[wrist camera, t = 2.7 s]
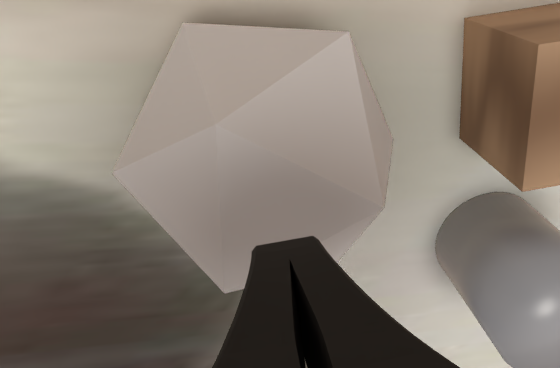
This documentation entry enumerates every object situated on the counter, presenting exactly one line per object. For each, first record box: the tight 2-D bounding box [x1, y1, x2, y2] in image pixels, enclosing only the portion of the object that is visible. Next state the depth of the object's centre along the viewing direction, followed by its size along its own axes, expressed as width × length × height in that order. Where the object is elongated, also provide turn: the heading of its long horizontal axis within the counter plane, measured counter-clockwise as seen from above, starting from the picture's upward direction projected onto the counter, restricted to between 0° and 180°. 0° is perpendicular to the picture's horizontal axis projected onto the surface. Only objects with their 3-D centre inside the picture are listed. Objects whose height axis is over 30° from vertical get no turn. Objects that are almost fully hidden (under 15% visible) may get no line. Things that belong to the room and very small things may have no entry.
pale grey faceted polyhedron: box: [111, 22, 393, 293], centre depth 17 cm, size 8×9×10 cm
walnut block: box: [459, 3, 560, 192], centre depth 18 cm, size 5×5×5 cm
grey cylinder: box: [435, 192, 560, 368], centre depth 21 cm, size 5×5×6 cm
